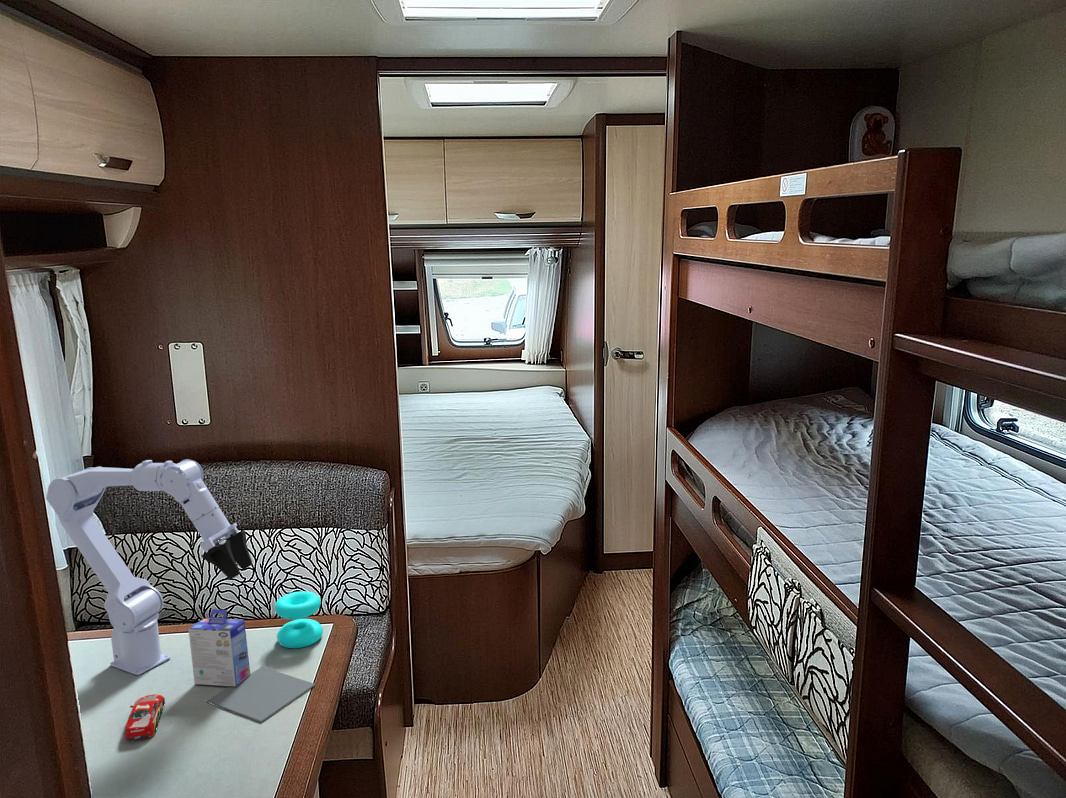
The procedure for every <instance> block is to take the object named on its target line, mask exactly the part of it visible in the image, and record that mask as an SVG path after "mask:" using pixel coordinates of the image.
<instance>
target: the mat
mask: <svg viewBox="0 0 1066 798" xmlns="http://www.w3.org/2000/svg"><path fill="white" fill-rule="evenodd" d="M313 686H314V687H315V686H316V683H314V682H311V681H307V680H304V679H301V678H298V677H296V676H295V677H294V676H291V675H289V674H285V673H283V672H280V671H276V670H273V669H270V668H267V667H264V666H261V667H259V668H258V669H256V670H254V671H252V672H250V676H248V677H247V678H246V679H244V680H243V681H242V682H241V683H239V684H238V685H237V686H235V687H233V686H227V687H226V688H224V689H223V690H221V691H220V692H218V693H216V694H214V695H212V696H211V697H210V698H208V699H206V701H207V702H210V703H212V704H214V705H213V706H215V705H217V706H216V707H218V706H219V707H218V708H220V707H221V709H224V710H226V711H228V712H232V713H234V714H237V715H239V716H241V717H244V718H247V719H250V720H253V721H255V722H258V723H261V724H262V723H263V722H265V721H266V720H268V719H270V717H272V716H274V715H275V714H277V713H278V712H279V711H281V710H282V709H284V708H285V707H287V706H288V705H290V704H291V703H293V702H294V701H296V700H297V699H298V698H300V697H302V695H304V694H306V693H307V692H309V691H310V690H311V688H312V687H313ZM314 687H313V688H314ZM313 688H312V689H313ZM295 699H296V700H295ZM292 701H293V702H292ZM207 702H206V703H207ZM210 703H209V704H210ZM212 704H211V705H212Z"/></svg>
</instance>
